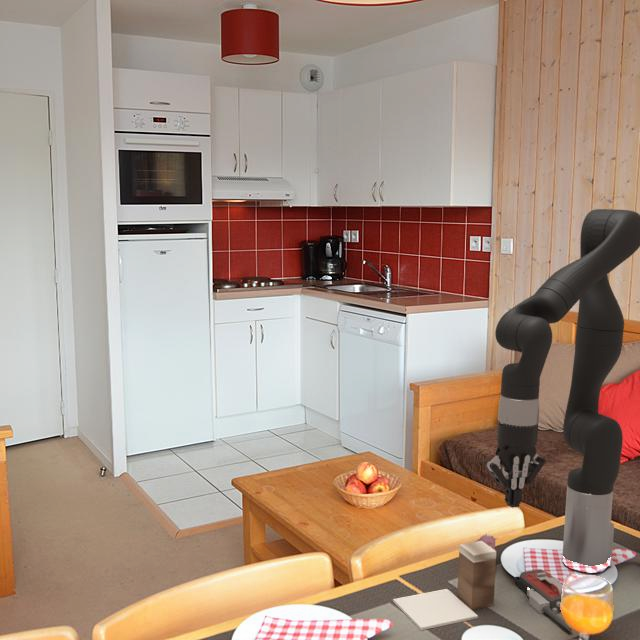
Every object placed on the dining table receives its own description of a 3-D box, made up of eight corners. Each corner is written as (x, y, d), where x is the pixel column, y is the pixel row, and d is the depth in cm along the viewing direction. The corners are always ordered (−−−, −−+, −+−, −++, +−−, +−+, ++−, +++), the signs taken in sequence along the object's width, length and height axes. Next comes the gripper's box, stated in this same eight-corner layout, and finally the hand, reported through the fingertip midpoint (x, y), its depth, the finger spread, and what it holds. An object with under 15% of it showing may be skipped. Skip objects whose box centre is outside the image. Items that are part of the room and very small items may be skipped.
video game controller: (484, 580, 165) (501, 554, 163) (464, 569, 165) (481, 542, 164) (483, 560, 174) (499, 534, 173) (465, 549, 175) (481, 523, 173)
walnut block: (478, 593, 156) (481, 540, 155) (493, 605, 152) (496, 551, 150) (457, 597, 154) (459, 544, 153) (471, 610, 150) (473, 555, 148)
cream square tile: (446, 591, 157) (446, 588, 157) (477, 618, 147) (477, 615, 147) (392, 601, 152) (392, 599, 152) (420, 630, 142) (421, 627, 142)
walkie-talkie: (504, 586, 160) (565, 637, 142) (505, 565, 160) (566, 614, 141) (541, 580, 163) (605, 630, 144) (542, 559, 162) (607, 607, 144)
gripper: (534, 411, 156) (529, 495, 159) (477, 416, 151) (472, 503, 154) (559, 421, 150) (553, 508, 152) (500, 427, 145) (494, 517, 147)
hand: (512, 505), depth 153 cm, fingers closed
